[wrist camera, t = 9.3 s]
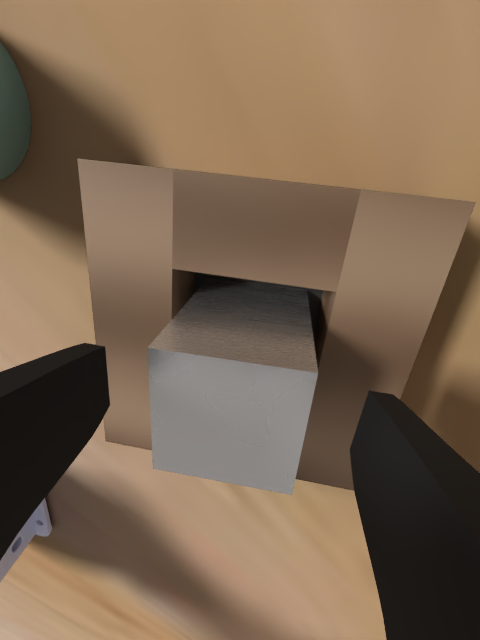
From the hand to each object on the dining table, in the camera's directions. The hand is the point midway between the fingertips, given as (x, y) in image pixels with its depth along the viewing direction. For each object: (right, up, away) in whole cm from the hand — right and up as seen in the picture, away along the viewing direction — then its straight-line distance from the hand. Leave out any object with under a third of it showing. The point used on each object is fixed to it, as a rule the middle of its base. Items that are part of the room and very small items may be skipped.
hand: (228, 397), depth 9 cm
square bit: (+1, +2, +5) cm, 5 cm away
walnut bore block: (+1, +2, +5) cm, 6 cm away
